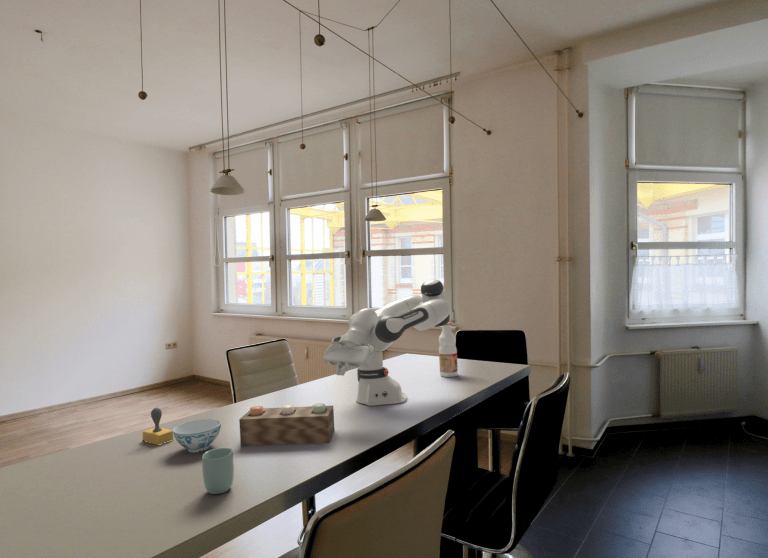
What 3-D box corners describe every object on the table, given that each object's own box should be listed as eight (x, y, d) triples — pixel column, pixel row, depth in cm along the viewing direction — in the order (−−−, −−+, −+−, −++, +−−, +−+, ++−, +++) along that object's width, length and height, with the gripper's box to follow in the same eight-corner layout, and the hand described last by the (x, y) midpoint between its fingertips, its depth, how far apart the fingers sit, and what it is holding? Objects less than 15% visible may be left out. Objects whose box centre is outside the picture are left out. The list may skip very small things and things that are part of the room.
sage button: (326, 412, 159) (326, 403, 159) (324, 416, 155) (324, 406, 155) (314, 413, 160) (313, 403, 160) (311, 417, 155) (311, 407, 155)
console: (334, 430, 163) (333, 405, 163) (329, 442, 151) (327, 415, 151) (252, 433, 165) (251, 408, 164) (240, 445, 153) (239, 419, 152)
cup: (208, 485, 124) (206, 449, 124) (238, 482, 125) (236, 446, 124) (199, 499, 116) (197, 460, 116) (230, 496, 117) (228, 457, 117)
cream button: (295, 414, 160) (295, 404, 160) (292, 417, 156) (292, 408, 155) (283, 414, 160) (283, 404, 160) (280, 418, 156) (279, 408, 156)
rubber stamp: (142, 441, 162) (140, 408, 162) (157, 436, 167) (156, 404, 167) (158, 446, 157) (156, 411, 157) (173, 440, 162) (172, 407, 162)
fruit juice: (437, 374, 245) (435, 322, 244) (454, 372, 246) (451, 321, 246) (443, 378, 235) (440, 324, 235) (460, 376, 237) (457, 323, 237)
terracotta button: (265, 415, 160) (264, 405, 160) (261, 419, 156) (260, 409, 156) (252, 415, 161) (252, 406, 161) (248, 419, 156) (248, 409, 156)
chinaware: (175, 461, 142) (173, 437, 142) (173, 446, 155) (171, 424, 155) (225, 450, 149) (224, 427, 149) (219, 437, 162) (218, 415, 162)
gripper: (379, 349, 171) (366, 381, 163) (336, 347, 182) (322, 377, 173) (372, 339, 167) (358, 371, 159) (329, 338, 178) (314, 368, 170)
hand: (339, 374), depth 166 cm, fingers closed
